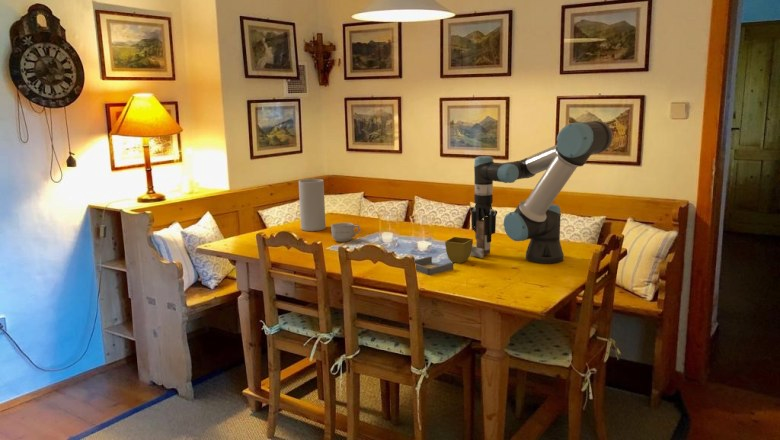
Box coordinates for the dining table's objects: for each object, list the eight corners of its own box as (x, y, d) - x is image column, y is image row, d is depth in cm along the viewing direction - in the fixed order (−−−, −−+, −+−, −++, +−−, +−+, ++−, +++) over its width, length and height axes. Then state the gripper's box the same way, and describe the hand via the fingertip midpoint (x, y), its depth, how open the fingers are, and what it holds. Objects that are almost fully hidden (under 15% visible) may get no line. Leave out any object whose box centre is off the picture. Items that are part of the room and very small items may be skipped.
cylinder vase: (324, 231, 323) (321, 182, 318) (299, 231, 323) (296, 182, 318) (326, 226, 335) (324, 178, 330) (303, 226, 335) (300, 179, 330)
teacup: (327, 242, 300) (326, 225, 298) (338, 237, 310) (337, 221, 308) (354, 244, 295) (354, 227, 293) (364, 239, 305) (363, 222, 303)
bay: (453, 269, 251) (453, 263, 251) (429, 275, 244) (429, 269, 243) (429, 262, 262) (429, 256, 262) (406, 267, 255) (406, 261, 254)
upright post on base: (494, 254, 268) (494, 221, 265) (481, 257, 264) (481, 224, 261) (479, 250, 275) (479, 218, 272) (466, 253, 271) (466, 221, 268)
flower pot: (464, 265, 257) (464, 243, 255) (444, 262, 261) (444, 241, 259) (473, 260, 264) (473, 238, 262) (454, 257, 268) (454, 236, 267)
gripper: (462, 192, 270) (462, 246, 275) (492, 197, 256) (491, 254, 261) (475, 190, 274) (475, 243, 279) (505, 195, 261) (504, 250, 266)
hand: (483, 248), depth 270 cm, fingers closed on upright post on base, 4 cm apart
